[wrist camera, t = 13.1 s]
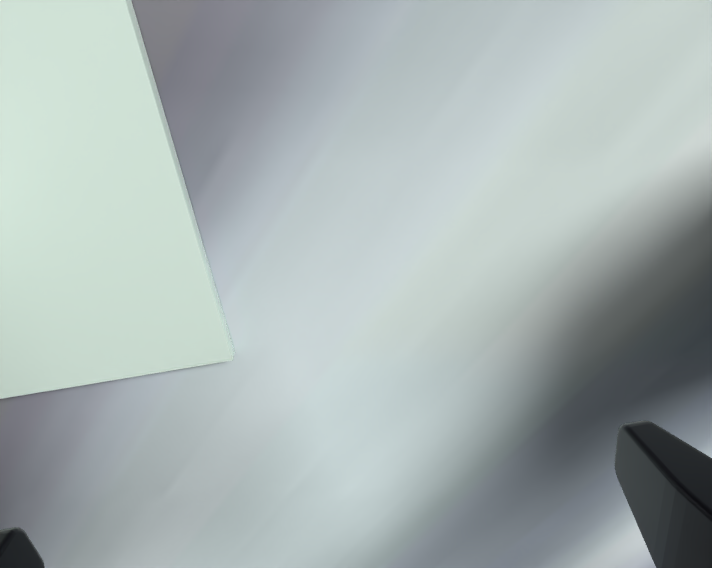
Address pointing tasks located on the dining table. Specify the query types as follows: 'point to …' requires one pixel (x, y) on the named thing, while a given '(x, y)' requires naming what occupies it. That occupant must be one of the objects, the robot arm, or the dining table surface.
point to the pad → (93, 208)
